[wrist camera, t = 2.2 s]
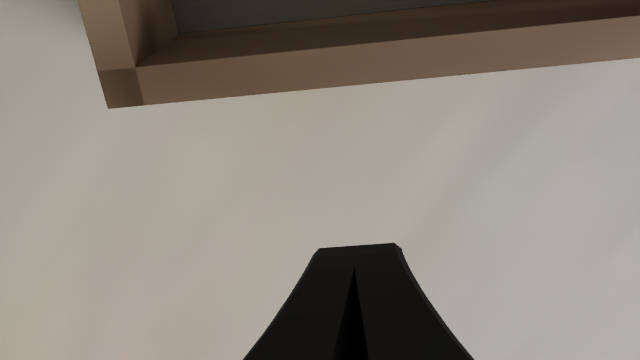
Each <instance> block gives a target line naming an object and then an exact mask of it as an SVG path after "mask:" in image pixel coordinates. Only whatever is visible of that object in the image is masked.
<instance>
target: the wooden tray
mask: <svg viewBox="0 0 640 360" xmlns="http://www.w3.org/2000/svg"><path fill="white" fill-rule="evenodd" d="M78 4H79V7H80V11H81V15H82V18H83V22H84V25H85V29H86V32H87V36H88V40H89V43H90V47H91V50H92V54H93V57H94V61H95V65H96V68H97V72H98V75H99V79H100V82H101V86H102V89H103V93H104V97H105V100H106V104H107V107H108V109H110V108H121V107H131V106H142V105H152V104H162V103H173V102H183V101H194V100H204V99H215V98H225V97H235V96H246V95H256V94H267V93H277V92H288V91H298V90H308V89H319V88H329V87H340V86H350V85H361V84H371V83H381V82H392V81H402V80H413V79H423V78H434V77H444V76H454V75H465V74H475V73H486V72H496V71H507V70H517V69H527V68H538V67H548V66H559V65H569V64H580V63H590V62H600V61H611V60H621V59H632V58H640V0H490V1H480V2H471V3H462V4H452V5H443V6H434V7H425V8H415V9H406V10H397V11H388V12H378V13H369V14H360V15H351V16H341V17H332V18H323V19H313V20H304V21H295V22H286V23H276V24H267V25H258V26H249V27H239V28H230V29H221V30H211V31H202V32H193V33H184V34H178V30H177V25H176V20H175V16H174V11H173V7H172V2H171V0H78Z"/></svg>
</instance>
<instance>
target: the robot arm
mask: <svg viewBox="0 0 640 360" xmlns="http://www.w3.org/2000/svg"><path fill="white" fill-rule="evenodd" d="M243 360H474V359H473V358H472V356H471V355H470V354H469V353H468V352H467V350H466V349H465V348H464V347H463V346H462V344H461V343H460V342H459V341H458V340H457V338H456V337H455V336H454V334H453V333H452V332H451V330H450V329H449V328H448V327H447V325H446V324H445V323H444V321H443V320H442V318H441V317H440V315H439V314H438V313H437V311H436V310H435V308H434V307H433V306H432V304H431V303H430V301H429V300H428V298H427V297H426V295H425V294H424V292H423V291H422V289H421V287H420V286H419V284H418V282H417V281H416V279H415V277H414V276H413V274H412V272H411V270H410V268H409V266H408V264H407V262H406V260H405V258H404V255H403V252H402V249H401V248H400V247H399V246H397V245H396V244H395V243H387V244H373V245H359V246H345V247H331V248H319V249H318V250H317V251H316V253H315V254H314V255H313V256H312V258H311V260H310V262H309V264H308V266H307V267H306V269H305V271H304V273H303V274H302V276H301V278H300V279H299V281H298V283H297V284H296V286H295V288H294V289H293V291H292V292H291V294H290V296H289V297H288V299H287V300H286V302H285V303H284V304H283V306H282V307H281V309H280V310H279V312H278V313H277V315H276V316H275V318H274V319H273V321H272V322H271V324H270V325H269V326H268V328H267V329H266V331H265V332H264V333H263V335H262V336H261V337H260V338H259V340H258V341H257V342H256V344H255V345H254V346H253V347H252V349H251V350H250V351H249V352H248V354H247V355H246V356H245V358H244V359H243Z"/></svg>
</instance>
